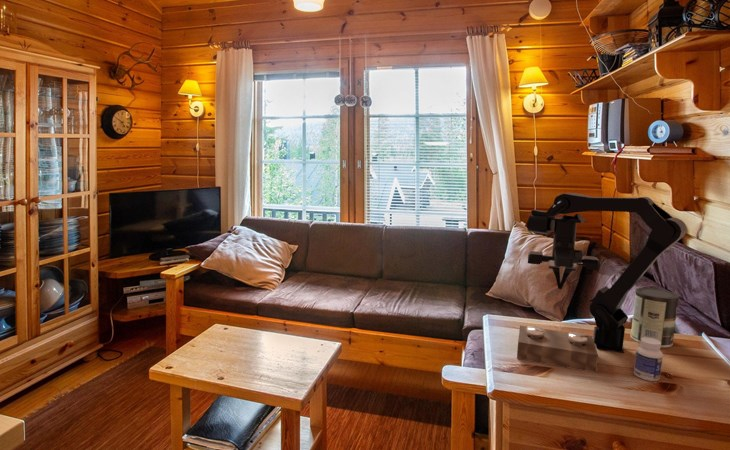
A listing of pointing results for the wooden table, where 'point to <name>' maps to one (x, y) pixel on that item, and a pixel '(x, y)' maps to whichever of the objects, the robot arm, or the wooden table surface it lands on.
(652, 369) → the pill bottle
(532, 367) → the wooden table surface
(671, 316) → the coffee can
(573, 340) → the near plunger
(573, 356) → the block
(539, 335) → the far plunger
